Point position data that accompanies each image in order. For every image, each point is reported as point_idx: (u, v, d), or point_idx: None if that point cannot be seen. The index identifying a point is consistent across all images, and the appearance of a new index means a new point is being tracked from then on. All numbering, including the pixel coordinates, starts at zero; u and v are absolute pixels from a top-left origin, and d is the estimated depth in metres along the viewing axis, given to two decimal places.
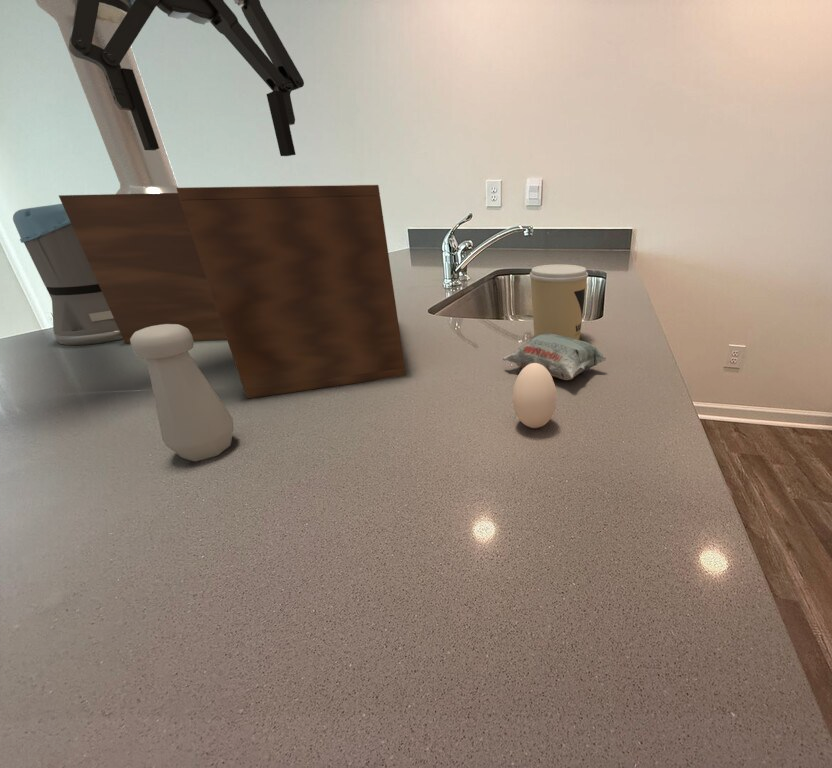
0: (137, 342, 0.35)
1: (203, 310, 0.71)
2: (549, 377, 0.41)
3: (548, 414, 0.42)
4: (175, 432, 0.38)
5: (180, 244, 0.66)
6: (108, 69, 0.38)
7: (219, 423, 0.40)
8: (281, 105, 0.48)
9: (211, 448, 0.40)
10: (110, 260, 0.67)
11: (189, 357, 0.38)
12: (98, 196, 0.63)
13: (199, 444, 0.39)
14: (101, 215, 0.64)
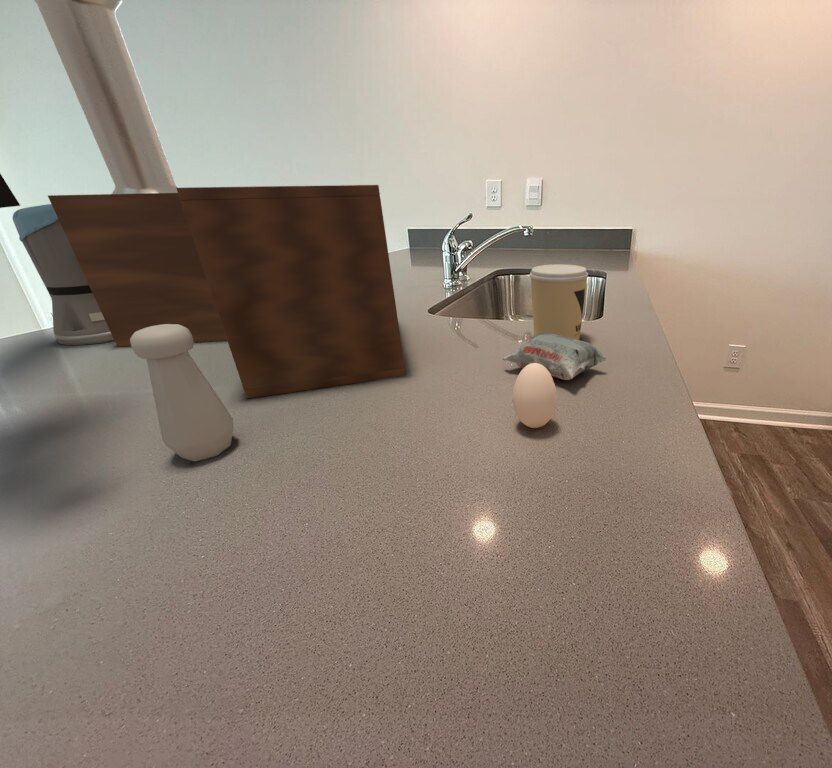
0: (137, 342, 0.35)
1: (201, 311, 0.70)
2: (549, 377, 0.41)
3: (548, 414, 0.42)
4: (175, 432, 0.38)
5: (178, 245, 0.66)
6: None
7: (219, 423, 0.40)
8: None
9: (211, 448, 0.40)
10: (102, 261, 0.65)
11: (189, 357, 0.38)
12: (90, 196, 0.62)
13: (199, 444, 0.39)
14: (94, 215, 0.63)
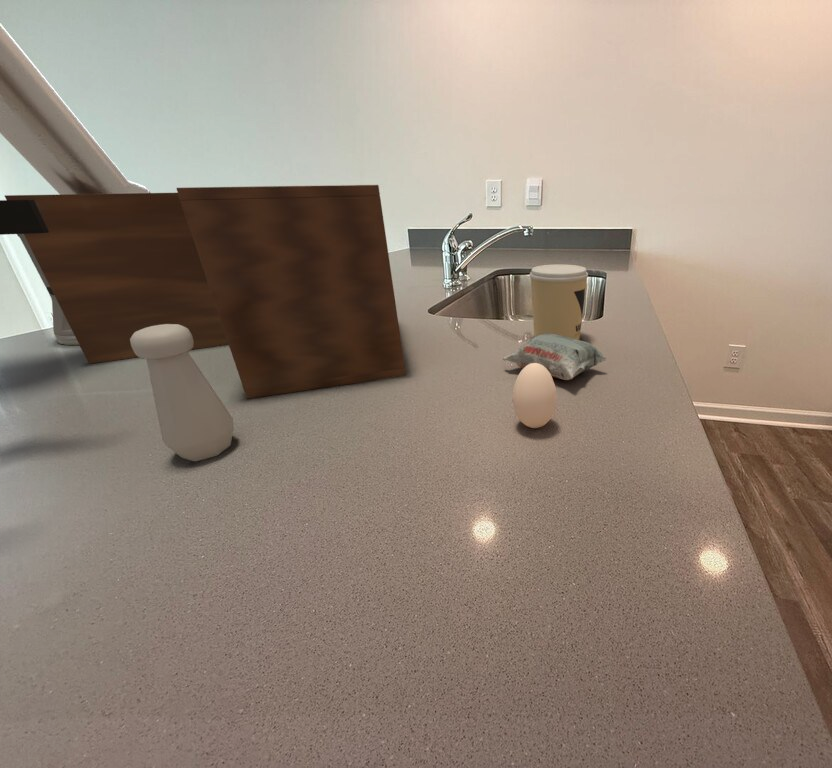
0: (137, 342, 0.35)
1: (194, 316, 0.67)
2: (549, 377, 0.41)
3: (548, 414, 0.42)
4: (175, 432, 0.38)
5: (169, 247, 0.63)
6: None
7: (219, 423, 0.40)
8: None
9: (211, 448, 0.40)
10: (74, 268, 0.59)
11: (189, 357, 0.38)
12: (63, 196, 0.56)
13: (199, 444, 0.39)
14: (66, 217, 0.57)
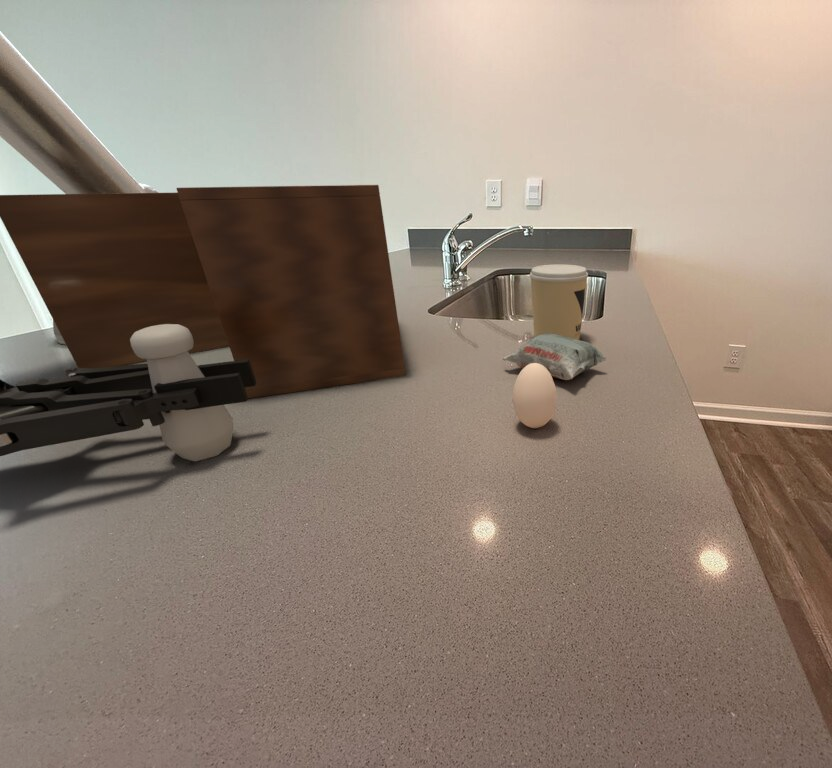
0: (137, 342, 0.35)
1: (193, 319, 0.66)
2: (549, 377, 0.41)
3: (548, 414, 0.42)
4: (175, 432, 0.38)
5: (168, 248, 0.62)
6: None
7: (219, 423, 0.40)
8: None
9: (211, 448, 0.40)
10: (66, 272, 0.56)
11: (189, 357, 0.38)
12: (55, 196, 0.53)
13: (198, 444, 0.39)
14: (58, 218, 0.54)
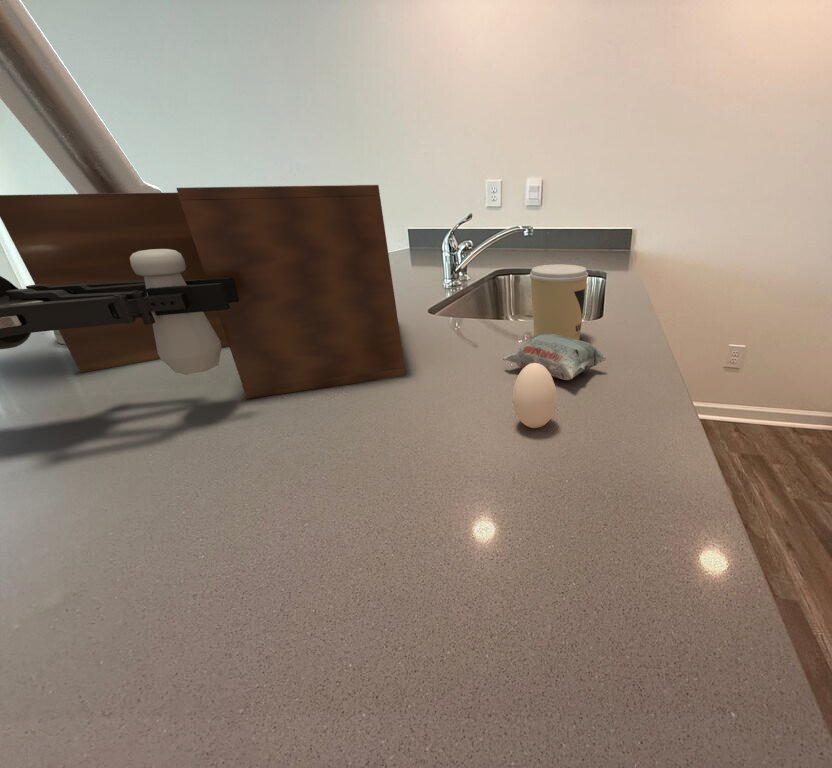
0: (135, 259, 0.40)
1: None
2: (549, 377, 0.41)
3: (548, 414, 0.42)
4: (169, 345, 0.43)
5: (168, 248, 0.62)
6: None
7: (208, 341, 0.45)
8: None
9: (200, 362, 0.45)
10: (66, 272, 0.56)
11: (181, 279, 0.43)
12: (55, 196, 0.53)
13: (189, 357, 0.44)
14: (58, 218, 0.54)
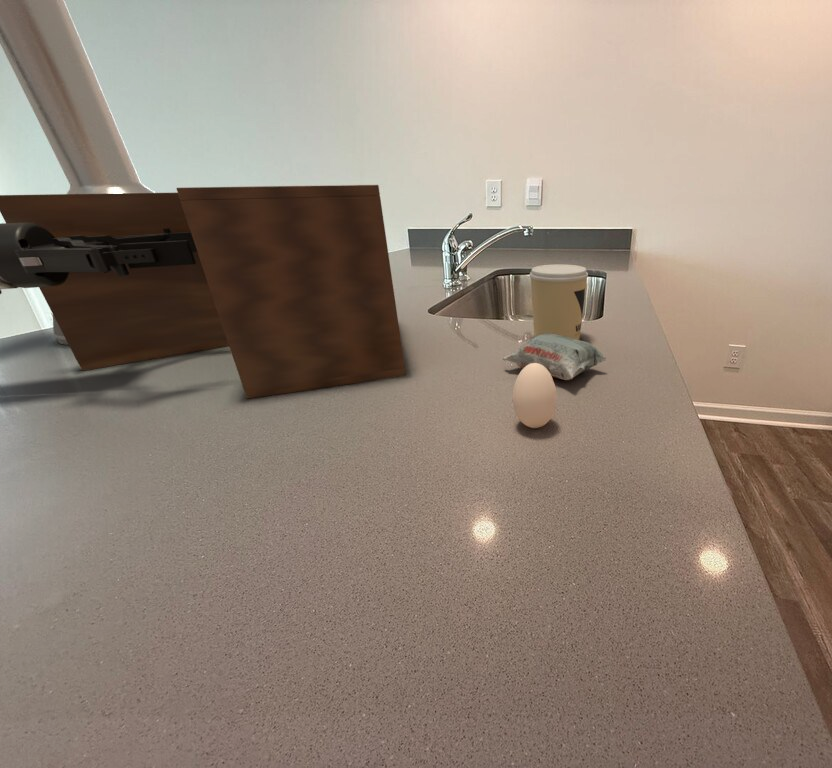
0: None
1: (193, 318, 0.66)
2: (549, 377, 0.41)
3: (548, 414, 0.42)
4: None
5: None
6: None
7: None
8: (145, 266, 0.49)
9: None
10: None
11: None
12: (56, 196, 0.54)
13: None
14: (59, 218, 0.55)
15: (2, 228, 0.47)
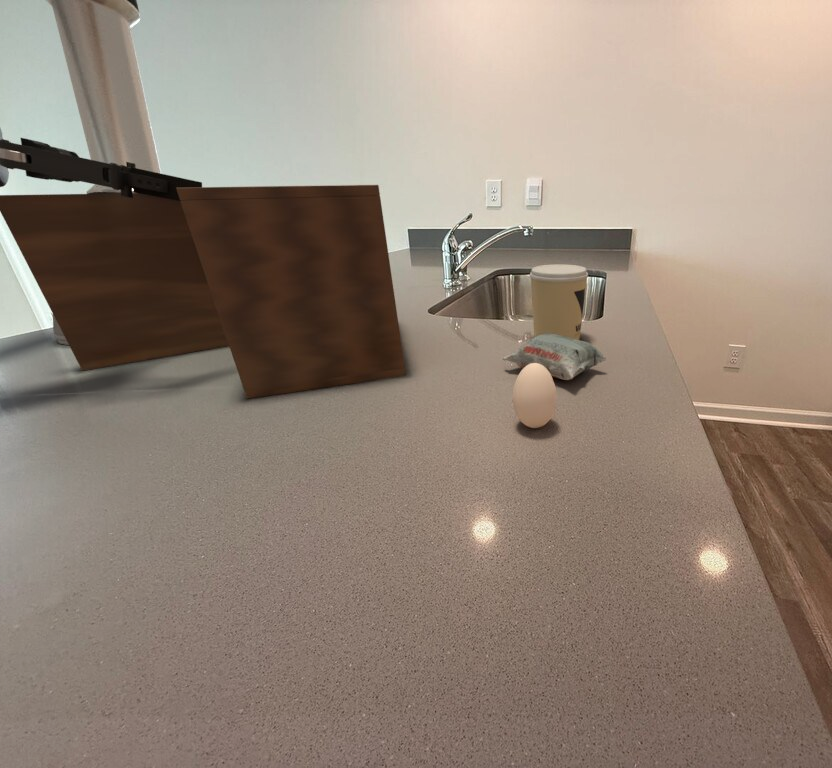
0: None
1: (193, 318, 0.66)
2: (549, 377, 0.41)
3: (548, 414, 0.42)
4: None
5: (168, 248, 0.62)
6: None
7: None
8: None
9: None
10: (68, 271, 0.57)
11: None
12: (56, 196, 0.54)
13: None
14: (59, 218, 0.55)
15: None
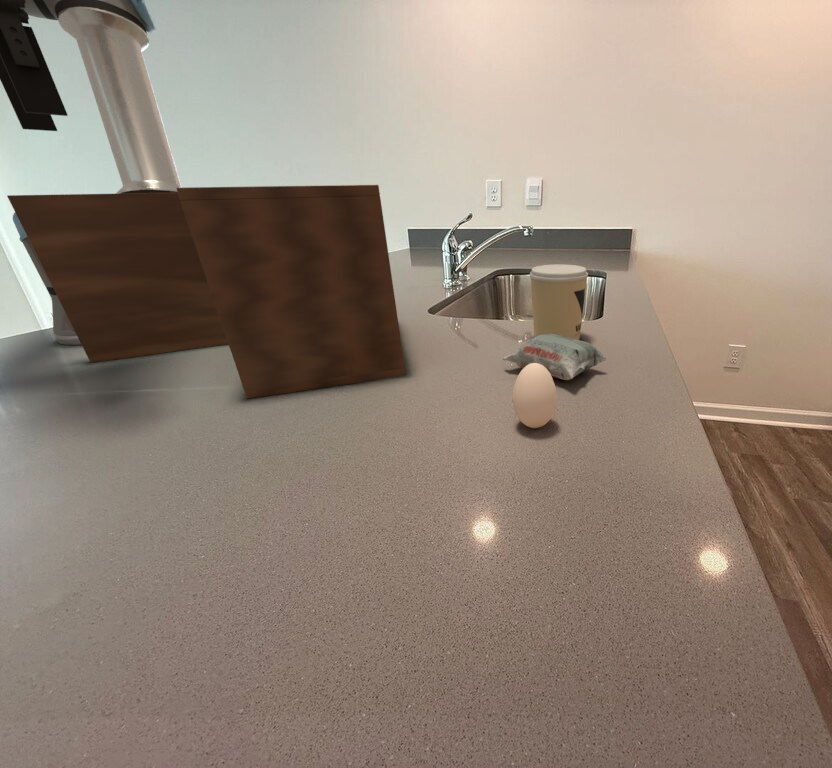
0: None
1: (194, 316, 0.68)
2: (549, 377, 0.41)
3: (548, 414, 0.42)
4: None
5: (170, 247, 0.63)
6: None
7: None
8: None
9: None
10: (76, 268, 0.60)
11: None
12: (64, 196, 0.56)
13: None
14: (67, 217, 0.57)
15: None
